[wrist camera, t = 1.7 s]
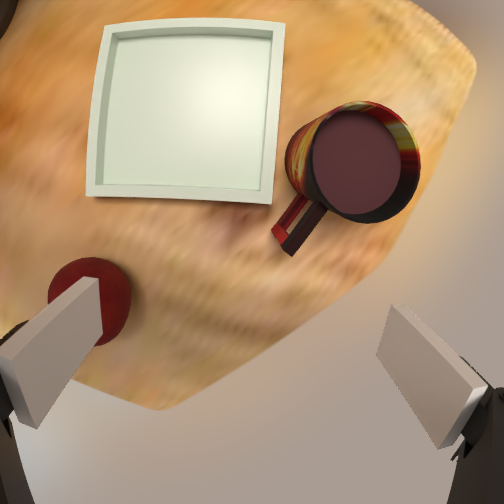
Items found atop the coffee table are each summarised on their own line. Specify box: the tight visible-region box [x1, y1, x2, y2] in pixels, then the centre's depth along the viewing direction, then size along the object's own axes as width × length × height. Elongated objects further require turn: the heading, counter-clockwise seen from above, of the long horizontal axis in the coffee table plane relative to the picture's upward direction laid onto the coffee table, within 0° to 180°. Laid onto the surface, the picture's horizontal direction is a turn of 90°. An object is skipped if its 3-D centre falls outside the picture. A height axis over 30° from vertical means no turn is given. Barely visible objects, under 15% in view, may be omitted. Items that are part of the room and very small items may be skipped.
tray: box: [86, 18, 285, 204], centre depth 30 cm, size 20×20×3 cm
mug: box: [271, 101, 421, 257], centre depth 28 cm, size 10×14×12 cm
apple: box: [48, 257, 131, 346], centre depth 31 cm, size 10×10×10 cm
